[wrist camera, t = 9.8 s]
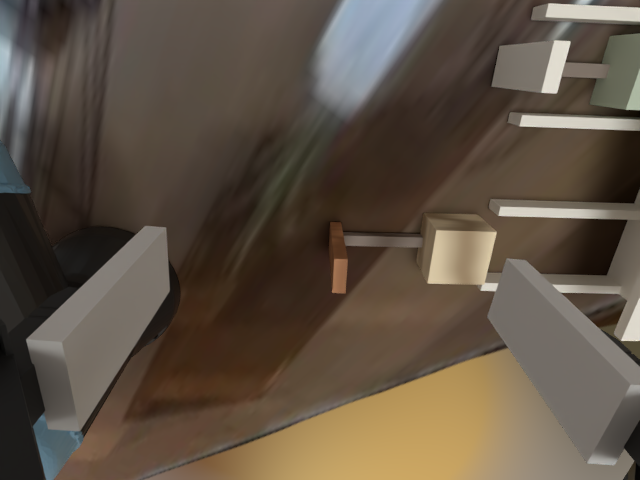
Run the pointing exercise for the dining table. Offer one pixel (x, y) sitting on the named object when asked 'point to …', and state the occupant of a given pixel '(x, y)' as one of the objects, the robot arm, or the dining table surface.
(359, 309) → the dining table surface
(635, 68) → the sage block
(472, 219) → the birch block
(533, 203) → the lane rack
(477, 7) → the dining table surface
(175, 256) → the dining table surface
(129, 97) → the dining table surface
